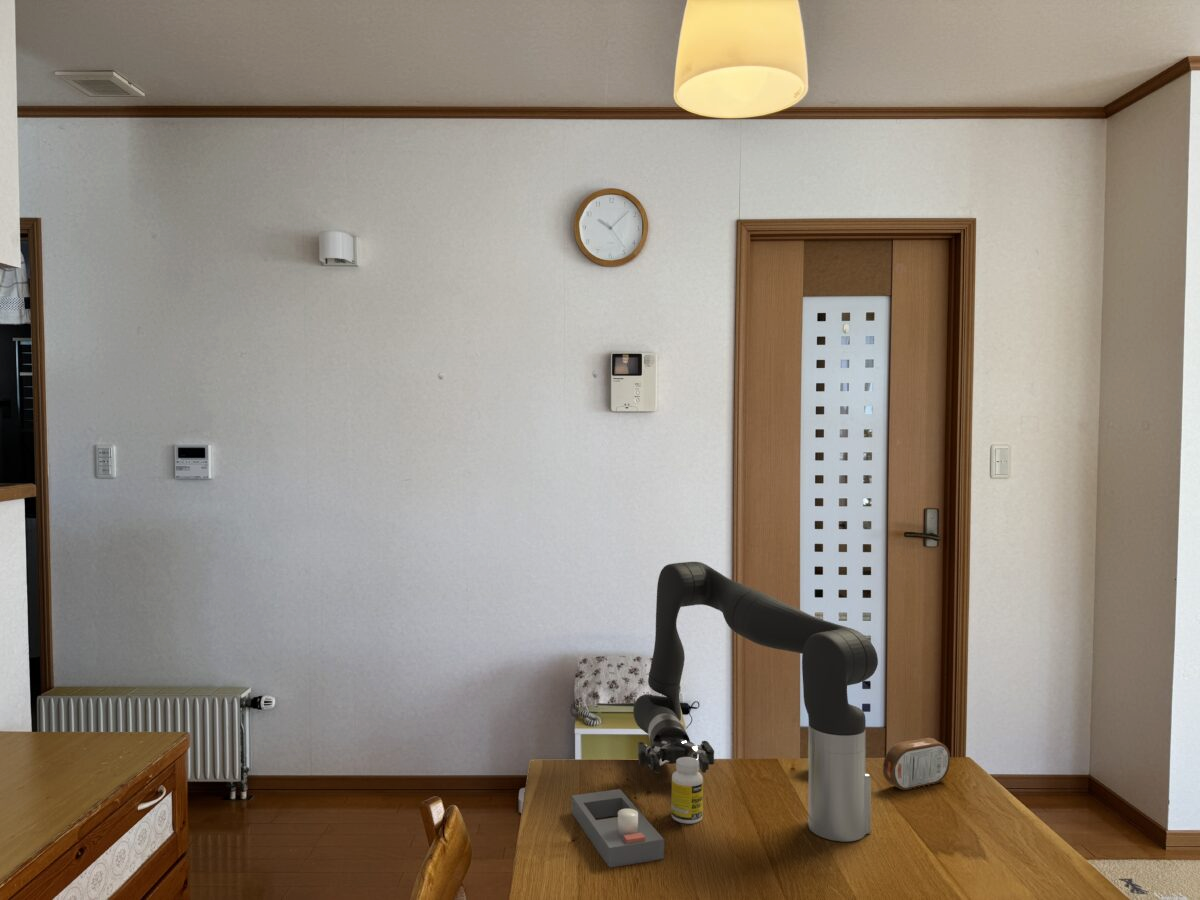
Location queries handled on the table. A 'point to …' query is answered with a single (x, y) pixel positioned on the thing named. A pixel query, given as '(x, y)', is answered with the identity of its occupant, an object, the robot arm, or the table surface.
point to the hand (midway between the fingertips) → (681, 767)
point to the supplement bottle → (687, 791)
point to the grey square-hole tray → (617, 828)
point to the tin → (916, 763)
